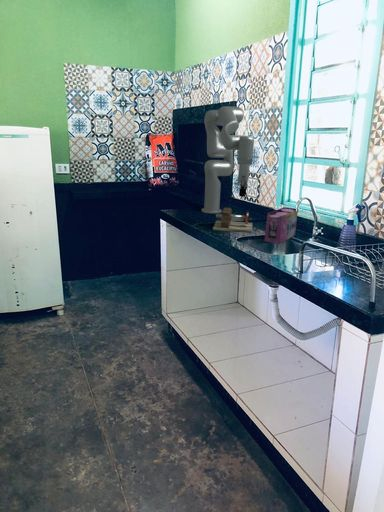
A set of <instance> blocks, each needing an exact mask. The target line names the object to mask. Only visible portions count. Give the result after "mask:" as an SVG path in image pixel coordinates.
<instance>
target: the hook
mask: <svg viewBox="0 0 384 512" xmlns="http://www.w3.org/2000/svg"><path fill="white" fill-rule="evenodd" d="M249 214H250V212H249V211H246V214H245V215H241V214H231V215H230V219H231V221H232V220H234V221H245V222H244V223H245V224H248V223H249V221H253V218H251V217H250V218H249ZM215 218H216V219H218V220H219V219H220V220H221V219H222V213H215Z"/></svg>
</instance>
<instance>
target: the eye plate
mask: <svg viewBox="0 0 384 512" xmlns="http://www.w3.org/2000/svg"><path fill="white" fill-rule="evenodd" d="M221 214H222V219H220V220H215V223H214V226H212V230H213V231H223V232H225V231H226V232H234V233H235V232H236V233H248V234H249V233H250V234H251V233H252V232H253V222H248V224H245V223H246V222H244V221H232V220H231V219H230V215H232V207H223V209H222V212H221Z"/></svg>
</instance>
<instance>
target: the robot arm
mask: <svg viewBox="0 0 384 512" xmlns="http://www.w3.org/2000/svg"><path fill="white" fill-rule="evenodd" d="M244 116H245V115H244V111H243V109H242V107H240V106H232V105H230V106H229V105H226V106H221V107H220V108H219V109H212V110H211V109H210V110H208V111H206V112H205V115H204V127H205V132H206V153H207V157H209V158H214V159H209V160H207V161H205V164H204V175H205V178H204V179H205V180H204V183H205V184H204V186H205V187H204V205H203V208H201V212H202V213H205V214H222V211H223V209H221V208H220V201H221V180H219V178H218V177H228V176H231V175H232V174H233V171H234V169H233V168H234V151H237V162H236V163H237V165H238V175H237V184H238V185H239V190H238V197H240V198H241V197H243V198H245V197H246V194H247V185H248V182H249V177H250V166H253V158H254V143H255V138H254V137H253V136H247V135H240V134H234V133H235V132H237V131H238V130H239V127H240V123H242V121H243V120H244ZM218 126H222V129H221V130H220V129H219V127H218ZM215 158H217V159H215ZM221 158H222V159H221Z"/></svg>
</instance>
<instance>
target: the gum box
mask: <svg viewBox="0 0 384 512" xmlns="http://www.w3.org/2000/svg"><path fill="white" fill-rule="evenodd" d="M296 209H297V208H293V207H285V206H283V207H280V208H278V209H276V210H273V211H271V212H268V213H267V217H266V225H265V232H264V233H265V234H264V242H266V243H271V244H276V245H280V244H282V243H284V242H286V241H287V240H289V239H291V238H292V237H294V236H295V235H296V231H297V230H296V228H297V220H298V211H299V209H298V210H297V212H296Z"/></svg>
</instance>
